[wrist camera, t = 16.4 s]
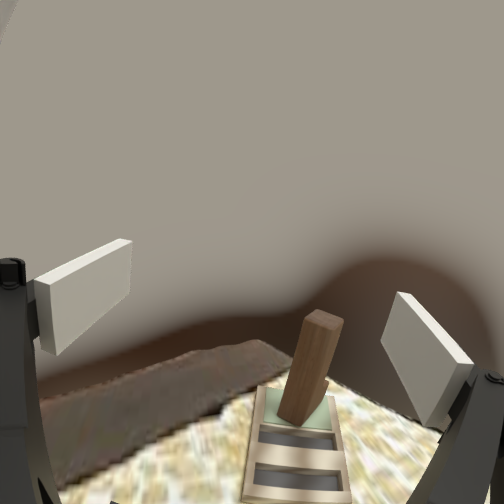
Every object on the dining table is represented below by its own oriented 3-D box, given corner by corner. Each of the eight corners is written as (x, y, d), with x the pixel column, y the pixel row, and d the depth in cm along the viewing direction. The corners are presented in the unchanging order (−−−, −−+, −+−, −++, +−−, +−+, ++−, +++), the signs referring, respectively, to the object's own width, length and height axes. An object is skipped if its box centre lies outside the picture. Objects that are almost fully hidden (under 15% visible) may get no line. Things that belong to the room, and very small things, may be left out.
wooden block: (300, 390, 54) (327, 299, 49) (322, 400, 51) (354, 309, 47) (275, 416, 46) (303, 316, 42) (300, 428, 44) (334, 329, 39)
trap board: (240, 501, 31) (243, 493, 31) (256, 393, 54) (258, 384, 54) (346, 509, 31) (353, 501, 30) (330, 404, 54) (334, 395, 53)
